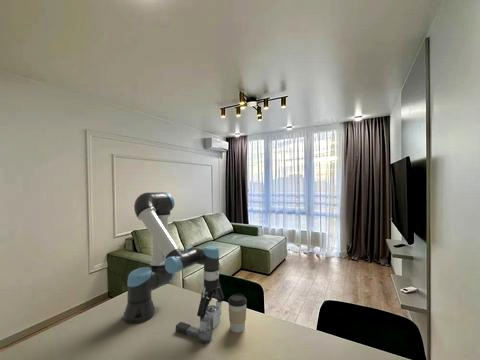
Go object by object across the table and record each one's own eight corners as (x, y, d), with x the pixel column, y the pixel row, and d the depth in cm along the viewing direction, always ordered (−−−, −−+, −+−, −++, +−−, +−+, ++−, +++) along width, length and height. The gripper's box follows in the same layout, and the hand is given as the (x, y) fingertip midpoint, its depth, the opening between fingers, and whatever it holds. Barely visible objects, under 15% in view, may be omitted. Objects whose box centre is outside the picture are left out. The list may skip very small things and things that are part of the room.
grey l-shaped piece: (214, 337, 102) (214, 318, 102) (206, 345, 96) (206, 325, 97) (182, 326, 110) (182, 308, 110) (173, 333, 105) (173, 314, 105)
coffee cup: (245, 335, 103) (244, 302, 103) (225, 333, 105) (225, 300, 105) (248, 323, 112) (248, 293, 112) (230, 321, 114) (230, 291, 114)
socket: (202, 325, 111) (202, 309, 111) (209, 318, 116) (209, 303, 117) (213, 328, 108) (213, 312, 108) (220, 321, 114) (220, 305, 114)
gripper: (202, 289, 100) (202, 338, 99) (230, 271, 122) (230, 310, 122) (189, 286, 103) (189, 333, 103) (218, 268, 126) (218, 307, 125)
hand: (211, 321), depth 112 cm, fingers open, 13 cm apart
